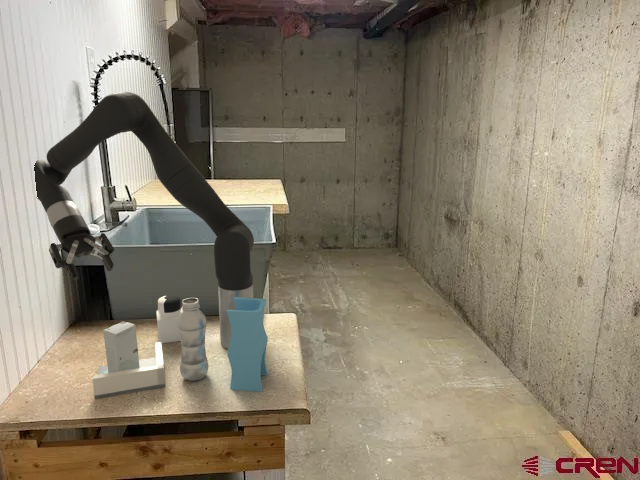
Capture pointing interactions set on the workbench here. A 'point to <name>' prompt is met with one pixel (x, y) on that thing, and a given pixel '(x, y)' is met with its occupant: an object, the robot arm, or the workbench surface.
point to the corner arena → (131, 377)
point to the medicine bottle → (168, 318)
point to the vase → (247, 344)
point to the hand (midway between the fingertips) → (94, 273)
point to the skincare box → (121, 347)
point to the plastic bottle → (192, 341)
